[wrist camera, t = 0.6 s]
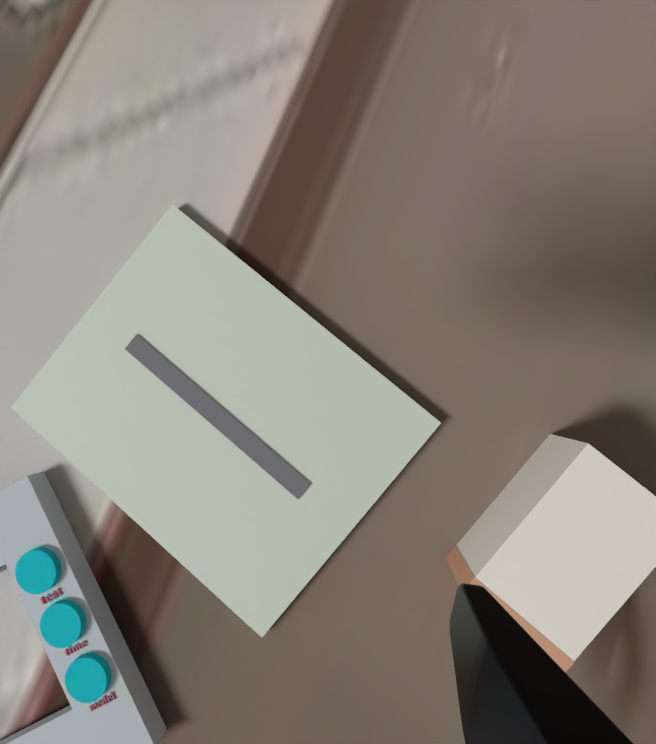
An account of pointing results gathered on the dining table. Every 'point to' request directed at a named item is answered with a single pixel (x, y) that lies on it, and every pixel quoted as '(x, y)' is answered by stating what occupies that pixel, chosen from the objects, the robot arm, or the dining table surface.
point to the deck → (562, 545)
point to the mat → (223, 419)
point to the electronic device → (72, 627)
